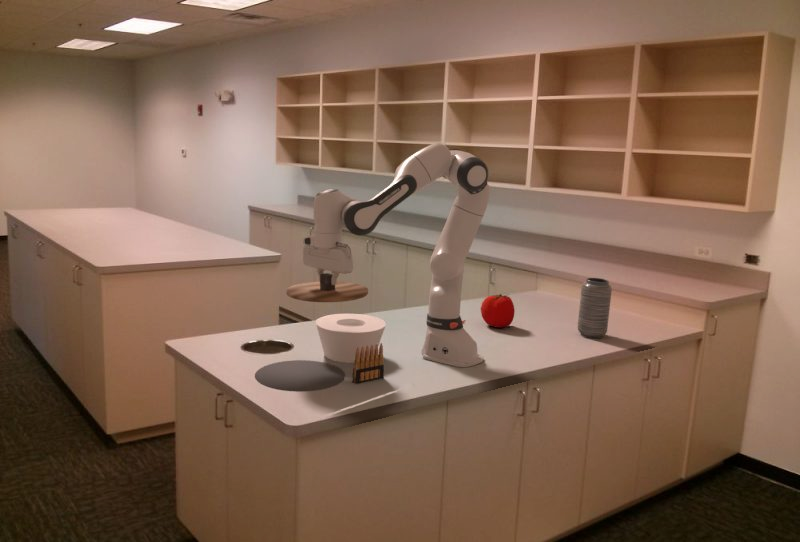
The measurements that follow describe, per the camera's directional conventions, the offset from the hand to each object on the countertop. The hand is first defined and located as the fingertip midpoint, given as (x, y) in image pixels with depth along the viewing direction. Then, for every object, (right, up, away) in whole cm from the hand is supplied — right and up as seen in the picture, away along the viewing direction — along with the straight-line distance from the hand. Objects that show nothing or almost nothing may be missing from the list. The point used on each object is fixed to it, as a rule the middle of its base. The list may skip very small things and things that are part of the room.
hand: (327, 283), depth 220 cm
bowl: (+6, -26, +17) cm, 31 cm away
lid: (0, -3, +1) cm, 3 cm away
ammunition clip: (+13, -31, -7) cm, 34 cm away
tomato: (+63, -19, +65) cm, 92 cm away
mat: (-8, -29, -5) cm, 31 cm away
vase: (+101, -22, +58) cm, 118 cm away
